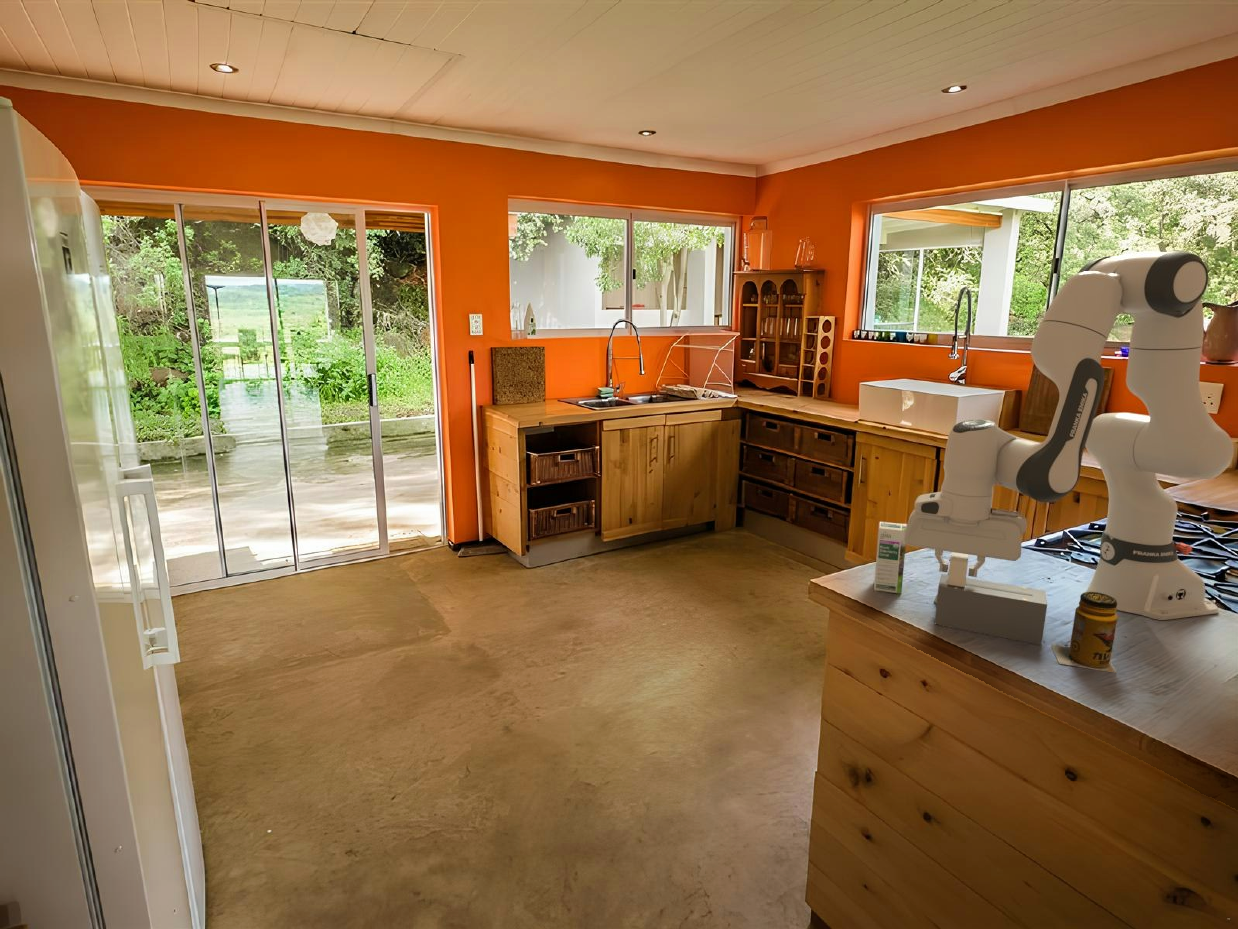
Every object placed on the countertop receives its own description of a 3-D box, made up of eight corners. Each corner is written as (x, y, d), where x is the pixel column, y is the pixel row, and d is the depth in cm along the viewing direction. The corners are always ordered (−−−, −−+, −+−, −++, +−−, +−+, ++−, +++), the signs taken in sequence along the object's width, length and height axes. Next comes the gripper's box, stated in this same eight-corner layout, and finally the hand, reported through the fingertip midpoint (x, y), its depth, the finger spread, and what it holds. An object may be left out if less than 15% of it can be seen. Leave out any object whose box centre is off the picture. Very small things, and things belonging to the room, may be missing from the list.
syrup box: (873, 590, 151) (878, 527, 148) (874, 581, 156) (879, 519, 153) (901, 594, 149) (907, 530, 146) (901, 584, 154) (907, 522, 151)
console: (934, 624, 135) (938, 585, 133) (937, 610, 141) (941, 573, 139) (1041, 645, 127) (1047, 604, 125) (1039, 629, 133) (1045, 590, 131)
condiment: (1117, 673, 117) (1128, 608, 114) (1059, 664, 120) (1068, 600, 117) (1105, 653, 124) (1115, 591, 121) (1050, 645, 127) (1059, 584, 124)
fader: (947, 584, 133) (950, 560, 132) (949, 575, 138) (951, 551, 137) (964, 587, 132) (967, 562, 131) (966, 578, 136) (968, 554, 135)
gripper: (1027, 508, 129) (1018, 577, 132) (910, 494, 139) (904, 559, 142) (1028, 517, 124) (1019, 589, 127) (906, 502, 133) (900, 570, 137)
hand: (957, 573), depth 134 cm, fingers open, 4 cm apart
